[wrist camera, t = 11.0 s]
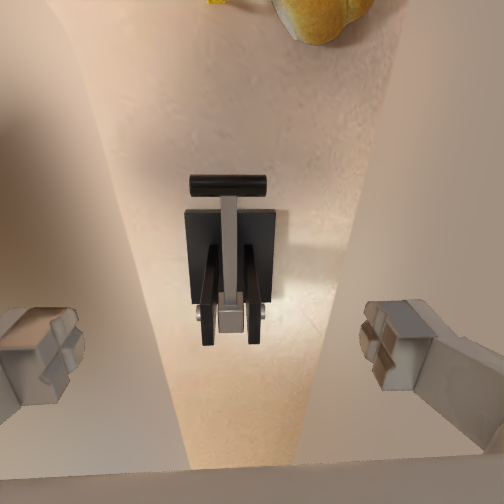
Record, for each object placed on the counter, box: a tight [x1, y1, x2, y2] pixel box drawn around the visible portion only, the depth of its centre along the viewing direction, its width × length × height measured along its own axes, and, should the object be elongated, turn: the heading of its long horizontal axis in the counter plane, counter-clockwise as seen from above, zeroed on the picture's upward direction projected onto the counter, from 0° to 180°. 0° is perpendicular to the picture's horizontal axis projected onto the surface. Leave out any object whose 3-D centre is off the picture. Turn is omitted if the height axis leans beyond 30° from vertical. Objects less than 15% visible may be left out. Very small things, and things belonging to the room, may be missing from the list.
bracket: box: [184, 209, 276, 346], centre depth 32 cm, size 12×10×13 cm
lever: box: [189, 175, 267, 333], centre depth 24 cm, size 14×5×2 cm, turn 179°
